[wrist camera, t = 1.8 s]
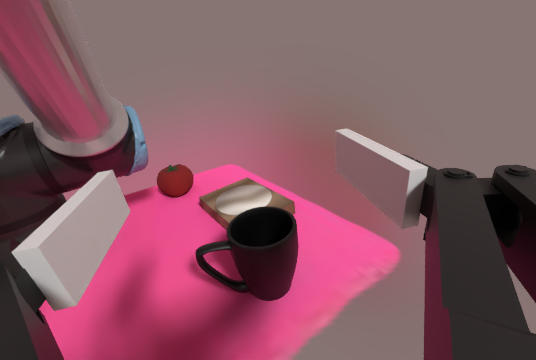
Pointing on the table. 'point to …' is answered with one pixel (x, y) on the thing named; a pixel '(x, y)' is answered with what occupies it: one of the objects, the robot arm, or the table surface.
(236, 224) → the mug
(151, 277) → the table surface
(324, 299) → the table surface
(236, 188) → the wooden coaster block
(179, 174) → the tomato
